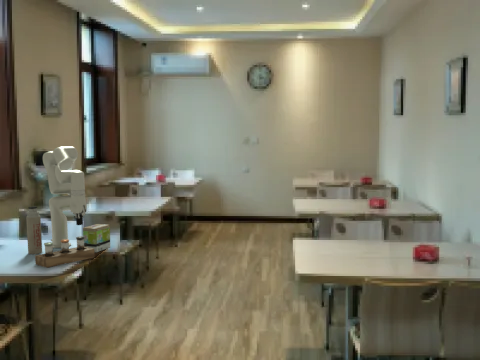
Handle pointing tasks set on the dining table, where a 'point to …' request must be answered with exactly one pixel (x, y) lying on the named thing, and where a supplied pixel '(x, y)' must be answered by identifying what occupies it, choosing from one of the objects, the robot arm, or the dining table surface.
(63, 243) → the plug mid
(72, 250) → the socket block
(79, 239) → the plug
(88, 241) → the tea box
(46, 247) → the plug
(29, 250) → the thermos bottle
